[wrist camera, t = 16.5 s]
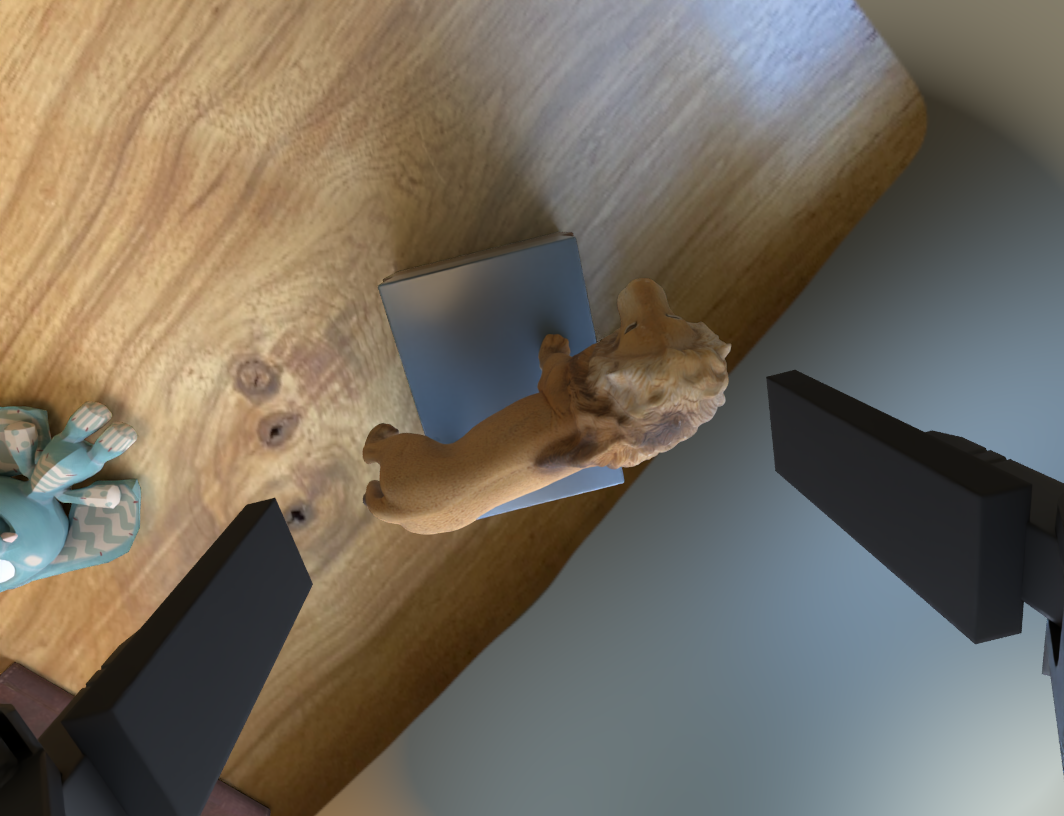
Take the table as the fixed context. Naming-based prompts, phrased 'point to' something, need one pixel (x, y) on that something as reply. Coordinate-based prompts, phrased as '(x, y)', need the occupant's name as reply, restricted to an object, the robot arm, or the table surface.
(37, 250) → the table surface
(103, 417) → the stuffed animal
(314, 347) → the table surface
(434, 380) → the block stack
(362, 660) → the table surface
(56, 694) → the notebook
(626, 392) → the lion figurine
